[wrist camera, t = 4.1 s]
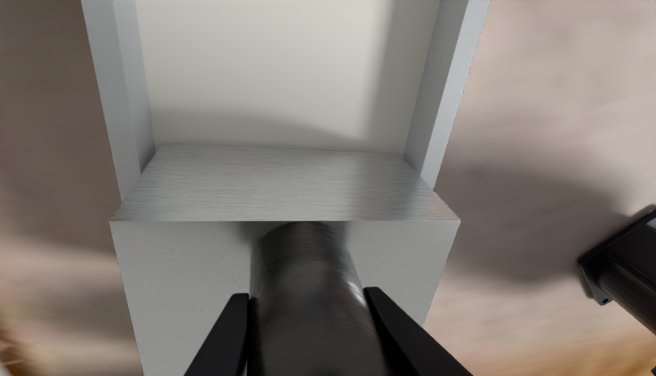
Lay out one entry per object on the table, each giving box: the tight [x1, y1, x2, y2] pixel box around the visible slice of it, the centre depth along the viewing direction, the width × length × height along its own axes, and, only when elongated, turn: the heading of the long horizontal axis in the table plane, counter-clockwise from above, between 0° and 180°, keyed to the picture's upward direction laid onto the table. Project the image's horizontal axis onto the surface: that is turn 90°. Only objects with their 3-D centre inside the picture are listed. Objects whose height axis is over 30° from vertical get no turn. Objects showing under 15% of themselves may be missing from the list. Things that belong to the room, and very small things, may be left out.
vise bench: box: [81, 0, 491, 203], centre depth 14 cm, size 33×13×8 cm, turn 173°
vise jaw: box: [109, 143, 461, 376], centre depth 12 cm, size 8×10×10 cm
